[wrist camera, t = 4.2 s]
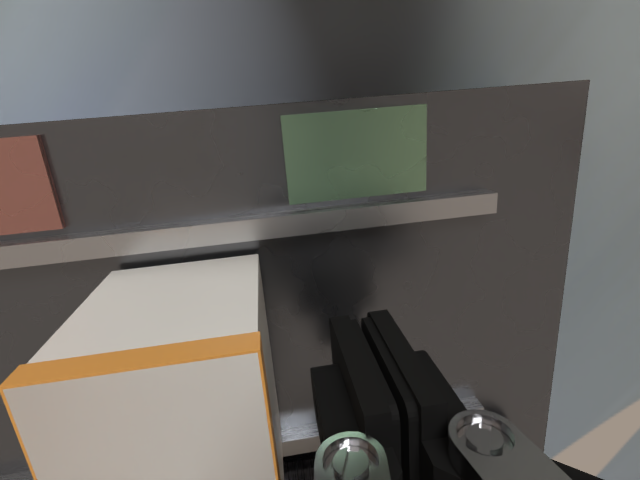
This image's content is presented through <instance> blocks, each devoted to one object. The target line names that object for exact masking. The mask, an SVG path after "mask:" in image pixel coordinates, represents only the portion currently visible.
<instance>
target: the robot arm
mask: <svg viewBox="0 0 640 480" xmlns="http://www.w3.org/2000/svg"><path fill="white" fill-rule="evenodd" d="M329 327H330V339H331V351H332V363H333V364H331V365H325V366H318V367H312V368H310V373H311V383H312V393H313V401H314V408H315V415H316V421H317V427H318V432H319V437H320V443H321V445H320V447H319V448H318V450H317V451H316V456H315V460H314V480H603V479H600V478H598V477H595V476H593V475H590V474H588V473H585V472H583V471H580V470H578V469H575V468H572V467H570V466H567V465H565V464H562V463H560V462H557V461H554V460H552V459H550V458H549V457H548V456H547V455H546V454H545V453H544V452H543V451H541V450H540V449H539V448H538V447H537V446H536V445H535V444H534V443H533V442H532V441H531V440H530V439H529V438H528V437H527V436H526V435H525V434H524V433H523V432H522V431H521V430H519V429H518V428H517V427H516V426H515V425H514V424H513V423H512V422H510V421H509V420H508V419H506V418H505V417H503V416H501V415H499V414H497V413H494V412H491V411H487V410H480V409H471V410H467V409H466V407H465V406H464V404H463V403H462V402H461V400H460V399H459V397H458V396H457V394H456V393H455V392H454V390H453V389H452V387H451V386H450V384H449V383H448V382H447V380H446V379H445V377H444V376H443V374H442V373H441V372H440V370H439V369H438V367H437V366H436V364H435V363H434V362H433V360H432V359H431V357H430V356H429V354H428V353H427V352H426V351H424V350H419V351H414V350H413V348H412V347H411V345H410V344H409V342H408V341H407V339H406V337H405V336H404V334H403V333H402V331H401V330H400V328H399V327H398V325H397V324H396V322H395V321H394V319H393V317H392V316H391V314H390V313H389V311H388V310H387V309H386V310H379V311H372V312H368V313H367V317H365V318H361V327H360V325H359V323H358V321H357V319H352V320H351V319H350V317H349V315H344V316H337V317H330V318H329Z"/></svg>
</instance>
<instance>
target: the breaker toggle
mask: <svg viewBox="0 0 640 480" xmlns="http://www.w3.org/2000/svg"><path fill="white" fill-rule="evenodd" d="M0 394H1V396H2V399H3V402H4V404H5V407H6V409H7V412H8V414H9V417H10V420H11V422H12V425H13V427H14V430H15V432H16V435H17V438H18V440H19V443H20V445H21V448H22V451H23V453H24V456H25V458H26V461H27V463H28V466H29V469H30V471H31V474H32V476H33V479H34V480H284V469H283V454H282V439H281V424H280V416H279V409H278V401H277V393H276V386H275V378H274V370H273V363H272V355H271V347H270V340H269V332H268V324H267V317H266V309H265V301H264V294H263V286H262V278H261V271H260V263H259V255H258V254H253V255H245V256H236V257H228V258H220V259H211V260H203V261H194V262H186V263H177V264H169V265H160V266H152V267H143V268H135V269H126V270H118V271H111V273H110V274H109V275H108V276H107V277H106V278H105V279H104V280H103V281H102V282H101V283H100V284H99V286H98V287H97V288H96V289H95V290H94V291H93V292H92V293H91V294H90V295H89V296H88V297H87V299H86V300H85V301H84V302H83V303H82V304H81V305H80V306H79V307H78V308H77V309H76V310H75V312H74V313H73V314H72V315H71V316H70V317H69V318H68V319H67V320H66V321H65V322H64V323H63V325H62V326H61V327H60V328H59V329H58V330H57V331H56V332H55V333H54V334H53V335H52V336H51V338H50V339H49V340H48V341H47V342H46V343H45V344H44V345H43V346H42V347H41V348H40V349H39V351H38V352H37V353H36V354H35V355H34V356H33V357H32V358H31V359H30V360H29V361H28V362H27V364H22V365H19V366H18V367H17V368H16V369H15V370H14V371H13V372H12V373H11V374H10V375H9V376H8V377H7V378H6V380H5V381H4V382H3V383H2V384H1V385H0Z"/></svg>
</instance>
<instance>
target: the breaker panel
mask: <svg viewBox="0 0 640 480" xmlns="http://www.w3.org/2000/svg"><path fill="white" fill-rule="evenodd" d="M589 83H590V80H580V81H567V82H554V83H541V84H528V85H515V86H502V87H489V88H476V89H463V90H450V91H437V92H424V93H411V94H398V95H385V96H372V97H359V98H346V99H333V100H320V101H307V102H294V103H282V104H269V105H256V106H243V107H230V108H217V109H204V110H191V111H178V112H165V113H152V114H139V115H126V116H113V117H100V118H87V119H74V120H61V121H48V122H35V123H22V124H9V125H0V385H1V384H2V383H3V382H4V381H5V380H6V378H7V377H8V376H9V375H10V374H11V373H12V372H13V371H14V370H15V369H16V368H17V367H18V366H19V365H22V364H27V362H28V361H29V360H30V359H31V358H32V357H33V356H34V355H35V354H36V353H37V352H38V351H39V349H40V348H41V347H42V346H43V345H44V344H45V343H46V342H47V341H48V340H49V339H50V338H51V336H52V335H53V334H54V333H55V332H56V331H57V330H58V329H59V328H60V327H61V326H62V325H63V323H64V322H65V321H66V320H67V319H68V318H69V317H70V316H71V315H72V314H73V313H74V312H75V310H76V309H77V308H78V307H79V306H80V305H81V304H82V303H83V302H84V301H85V300H86V299H87V297H88V296H89V295H90V294H91V293H92V292H93V291H94V290H95V289H96V288H97V287H98V286H99V284H100V283H101V282H102V281H103V280H104V279H105V278H106V277H107V276H108V275H109V274H110V273H111V271H118V270H126V269H135V268H143V267H152V266H160V265H169V264H177V263H186V262H194V261H203V260H211V259H220V258H228V257H236V256H245V255H253V254H258V255H259V263H260V271H261V278H262V286H263V294H264V301H265V309H266V317H267V324H268V332H269V340H270V347H271V355H272V363H273V370H274V378H275V386H276V393H277V401H278V409H279V416H280V424H281V439H282V454H283V469H284V480H314V460H315V456H316V451H317V450H318V448H319V447H320V445H321V443H320V437H319V432H318V427H317V421H316V415H315V408H314V401H313V393H312V383H311V373H310V368H312V367H318V366H325V365H331V364H333V363H332V351H331V339H330V327H329V318H330V317H337V316H344V315H349V317H350V319H351V320H352V319H357V321H358V323H359V325H360V327H361V318H365V317H367V313H368V312H372V311H379V310H386V309H387V310H388V311H389V313H390V314H391V316H392V317H393V319H394V321H395V322H396V324H397V325H398V327H399V328H400V330H401V331H402V333H403V334H404V336H405V337H406V339H407V341H408V342H409V344H410V345H411V347H412V348H413V350H414V351H419V350H424V351H426V352H427V353H428V354H429V356H430V357H431V359H432V360H433V362H434V363H435V364H436V366H437V367H438V369H439V370H440V372H441V373H442V374H443V376H444V377H445V379H446V380H447V382H448V383H449V384H450V386H451V387H452V389H453V390H454V392H455V393H456V394H457V396H458V397H459V399H460V400H461V402H462V403H463V404H464V406H465V407H466V409H467V410H471V409H480V410H487V411H491V412H494V413H497V414H499V415H501V416H503V417H505V418H506V419H508V420H509V421H510V422H512V423H513V424H514V425H515V426H516V427H517V428H518V429H519V430H521V431H522V432H523V433H524V434H525V435H526V436H527V437H528V438H529V439H530V440H531V441H532V442H533V443H534V444H535V445H536V446H537V447H538V448H539V449H540V450H541V451H543V452H544V444H545V436H546V428H547V420H548V412H549V404H550V396H551V388H552V380H553V372H554V364H555V356H556V348H557V340H558V331H559V323H560V315H561V307H562V299H563V291H564V283H565V275H566V267H567V259H568V251H569V243H570V235H571V227H572V219H573V211H574V203H575V195H576V187H577V179H578V171H579V163H580V155H581V147H582V139H583V131H584V123H585V115H586V107H587V99H588V91H589ZM0 480H34V479H33V476H32V474H31V471H30V469H29V466H28V463H27V461H26V458H25V456H24V453H23V451H22V448H21V445H20V443H19V440H18V438H17V435H16V432H15V430H14V427H13V425H12V422H11V420H10V417H9V414H8V412H7V409H6V407H5V404H4V402H3V399H2V396H1V394H0Z"/></svg>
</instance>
